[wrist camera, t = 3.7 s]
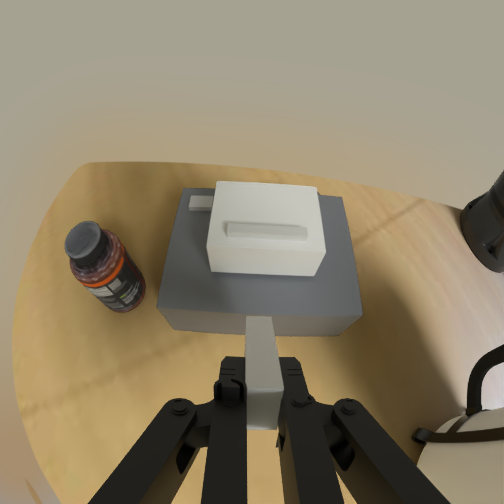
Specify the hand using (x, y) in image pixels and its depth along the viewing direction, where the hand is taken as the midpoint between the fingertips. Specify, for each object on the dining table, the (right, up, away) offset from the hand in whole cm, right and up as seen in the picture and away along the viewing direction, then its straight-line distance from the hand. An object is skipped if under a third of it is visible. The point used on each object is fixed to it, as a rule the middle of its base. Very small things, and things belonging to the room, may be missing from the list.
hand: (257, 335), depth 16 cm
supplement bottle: (-16, 0, +14) cm, 21 cm away
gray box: (+1, +3, +16) cm, 17 cm away
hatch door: (+1, +6, +9) cm, 11 cm away
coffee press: (+23, -19, +3) cm, 30 cm away
